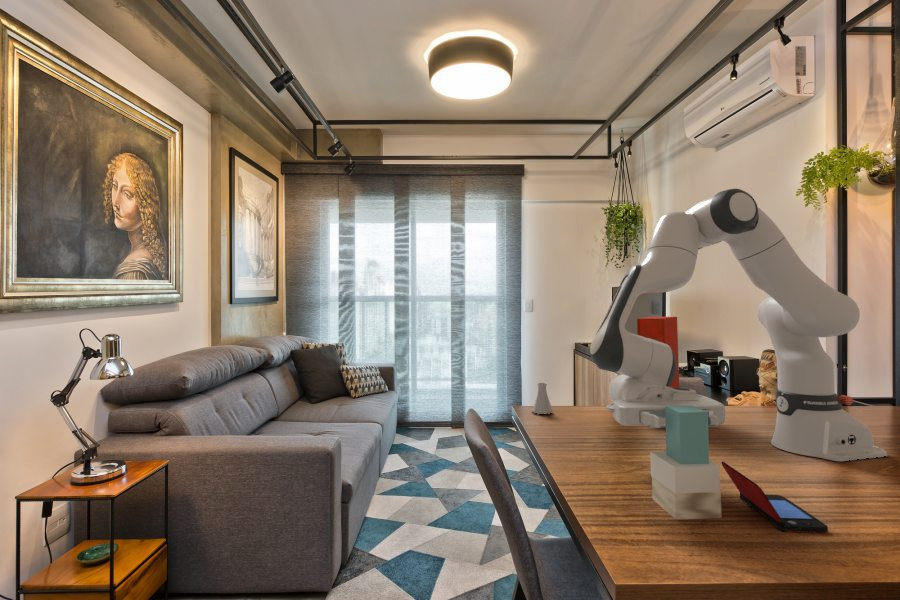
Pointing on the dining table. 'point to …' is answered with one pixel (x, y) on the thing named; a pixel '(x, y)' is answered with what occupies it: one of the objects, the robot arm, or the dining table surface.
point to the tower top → (685, 475)
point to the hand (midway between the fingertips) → (688, 422)
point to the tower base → (687, 503)
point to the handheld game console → (774, 506)
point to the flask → (542, 400)
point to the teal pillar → (687, 434)
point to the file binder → (661, 335)
